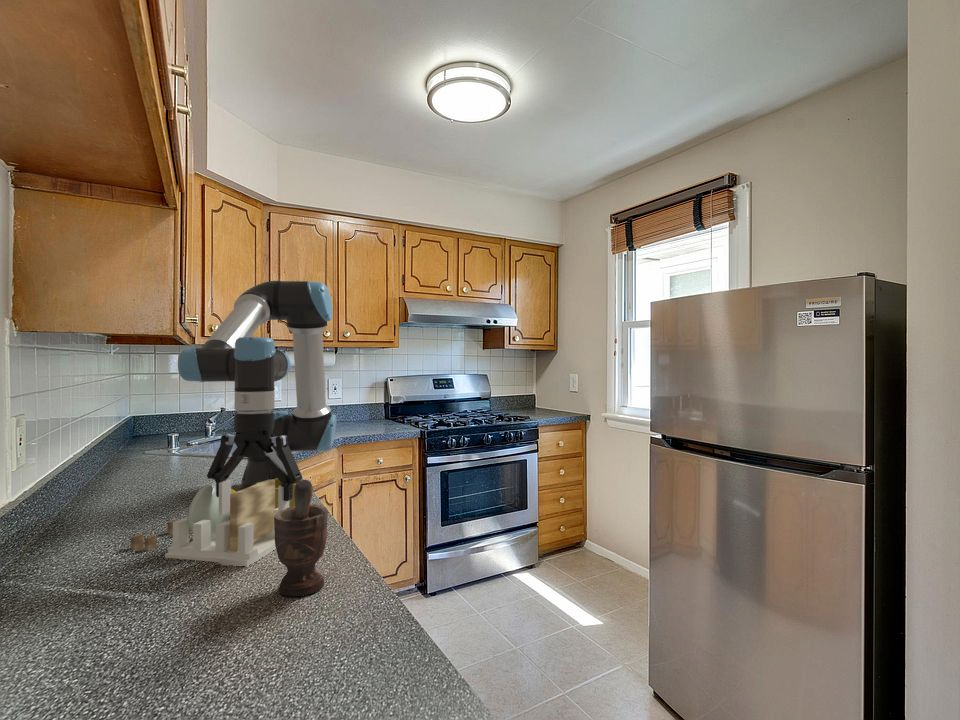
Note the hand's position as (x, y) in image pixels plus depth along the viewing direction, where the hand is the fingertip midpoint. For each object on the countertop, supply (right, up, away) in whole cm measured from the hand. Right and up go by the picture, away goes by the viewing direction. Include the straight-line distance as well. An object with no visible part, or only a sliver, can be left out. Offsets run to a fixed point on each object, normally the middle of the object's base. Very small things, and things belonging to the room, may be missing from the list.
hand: (254, 514), depth 98 cm
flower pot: (-3, -8, +21) cm, 23 cm away
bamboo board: (0, -5, 0) cm, 5 cm away
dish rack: (-5, -7, +1) cm, 9 cm away
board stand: (-22, -7, +4) cm, 23 cm away
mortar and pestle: (+17, -8, -18) cm, 26 cm away
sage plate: (-10, -5, +2) cm, 11 cm away
